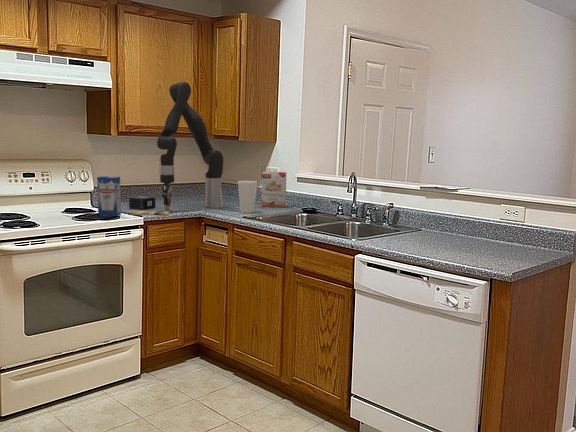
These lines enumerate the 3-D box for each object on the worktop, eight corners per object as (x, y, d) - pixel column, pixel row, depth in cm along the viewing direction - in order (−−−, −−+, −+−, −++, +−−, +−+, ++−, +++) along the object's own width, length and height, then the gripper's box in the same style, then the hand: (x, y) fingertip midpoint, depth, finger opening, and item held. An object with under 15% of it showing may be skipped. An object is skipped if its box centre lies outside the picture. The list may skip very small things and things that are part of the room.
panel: (169, 213, 326) (169, 211, 326) (166, 215, 317) (166, 213, 317) (132, 212, 326) (132, 210, 326) (128, 214, 317) (128, 212, 317)
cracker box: (261, 207, 359) (261, 171, 356) (262, 205, 365) (263, 171, 362) (284, 207, 357) (285, 172, 354) (285, 206, 363) (286, 171, 360)
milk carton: (121, 214, 317) (120, 176, 314) (117, 216, 310) (116, 177, 308) (102, 214, 317) (101, 176, 314) (98, 216, 311) (97, 177, 308)
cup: (249, 210, 343) (249, 180, 340) (260, 212, 335) (261, 181, 333) (233, 212, 335) (233, 181, 333) (244, 214, 328) (245, 182, 325)
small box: (143, 198, 336) (128, 197, 340) (143, 209, 337) (128, 209, 341) (155, 196, 345) (140, 195, 350) (155, 208, 346) (141, 207, 351)
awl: (170, 211, 332) (170, 195, 330) (169, 212, 329) (169, 196, 327) (165, 211, 332) (165, 195, 330) (164, 212, 329) (164, 195, 327)
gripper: (163, 172, 334) (163, 202, 337) (157, 174, 320) (157, 205, 322) (176, 172, 334) (176, 202, 337) (171, 174, 320) (171, 205, 322)
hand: (167, 204), depth 329 cm, fingers open, 7 cm apart
